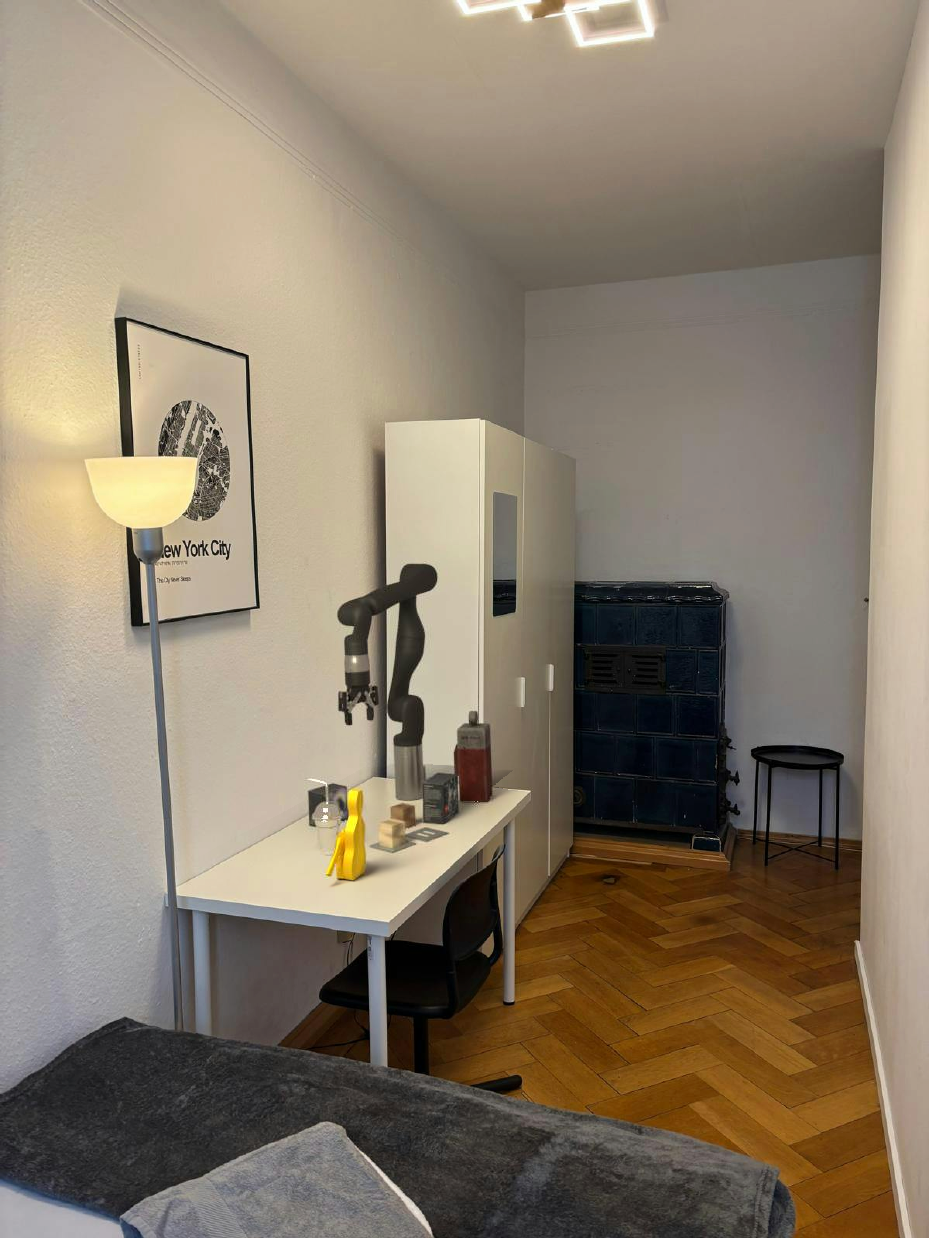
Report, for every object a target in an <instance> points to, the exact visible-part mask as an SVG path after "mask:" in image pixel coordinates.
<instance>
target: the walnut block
mask: <svg viewBox="0 0 929 1238" xmlns="http://www.w3.org/2000/svg"><path fill="white" fill-rule="evenodd" d="M389 808H390V810H389V811H390V819H395V820H399V821H403V822H405V830H407V829H406V828H408V829H410V828H414V827H416V826H415V825H416V805H413V804H411V803H405V802H401V803H398V804H395V805H393V806H390V807H389ZM413 826H414V827H413Z"/></svg>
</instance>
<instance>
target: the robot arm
mask: <svg viewBox="0 0 929 1238" xmlns="http://www.w3.org/2000/svg"><path fill="white" fill-rule="evenodd" d="M438 578H439V577H438V572H437V569H436V568H435V567H434V566H433V565H431V564H428V563H407V564H405V565H403V567H402V568H401V570H400V573H399V579H398V580H399V581H396V582H394V583H393V582H392V583H389V584H386V585H382V586H380V587H378V588H376V589H374V590H372V591H371V592H369V593H367V594H365V595H363V596H360V597H356V598H353V599H351V600H348V601H346V602H344V603H342V604H341V605H340V607H339V608H338V609H337V614H336V617H337V620H338V621H339V623H340V624H341V625H343V626H345V627H353V629H352V633H350V634H347V635H346V636H345V637H344V640H343V641H344V642H343V643H344V647H343V648H344V661H343V662H344V665H343V668H344V682H345V683H344V685H345V686H346V690H345V691H342V690H339V691H338V694H337V697H338V699H337V700H338V702H337V703H338V704H337V707H338V708H337V711H338V712H342V713H343V714H344V715H343V716H344V723H345V725H346V726H353V712H352V711H353V709H354V708H355V707H356V705H358V704H360V703H363V704H364V705H365V706H366V708H365V712H366V721H369V722H372V721H373V720H374V718H375V710H374V708H376V706H379V704H380V700H379V690H378V685H371V670H370V668H371V667H370V663H371V662H370V657H369V643H368V642H369V641H368V640H369V635H370V631H371V625H372V621H373V617H374V616H378V615H380V614H382V613H383V612H385V611H387V610H389V609H390V608H392V607H394V606H396V605H397V604H398V617H397V618H398V620H397V628H396V630H397V632H396V638H395V647H394V648H395V649H394V659H393V668H392V670H393V671H392V677H391V682H390V688H389V691H388V692H389V693H388V698H387V703H386V711H387V716H388V717H389V719H390V720H391V721H393V722H394V723H400V724H401V732H399V733H396V734H394V736H393V739H392V741H393V743H392V744H393V759H394V760H393V763H394V764H393V765H394V785H395V786H394V787H395V791H394V792H395V798H396V799H398V800H401V801H413V800H414V801H415V800H419V799H423V787H422V783H423V782H424V781H426V780H427V775H426V774H427V773H426V772H427V771H426V770H427V769H426V766H425V765H424V755H423V752H424V751H423V737H424V734H425V706H424V702H423V699H422V698H421V697H419V696H418V695H414V694H409V693H410V684H411V680H412V677H413V674H414V673H415V671H416V669H417V667H418V666H419V664H420V663H421V661H422V658H423V655H424V651H425V644H426V643H425V642H426V632H425V627H424V625H423V622H422V621H421V618H420V615H419V612H418V609H417V608H418V607H417V596H418V595H422V594H425V593H428V592H431V591H432V590H433V589H435V587H436V585H437V584H438Z"/></svg>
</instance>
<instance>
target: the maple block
mask: <svg viewBox="0 0 929 1238" xmlns="http://www.w3.org/2000/svg"><path fill="white" fill-rule="evenodd" d="M405 834H406V829H405V822H403V821H399V820H395V819H391V818H390V819H387V820H384V821H382V822H379V823H378V838H379V839H378V840H379V841H378V842H380V845H382V846H385V847H389V848H395V847H398V846H401V845H403V844H406V841H407V840H406V838H407V837H406V836H405Z"/></svg>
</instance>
